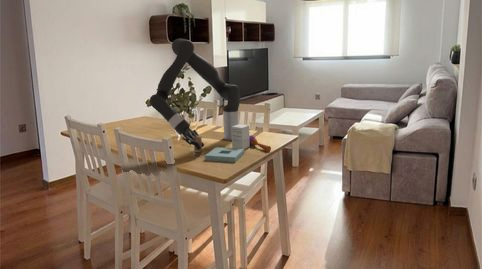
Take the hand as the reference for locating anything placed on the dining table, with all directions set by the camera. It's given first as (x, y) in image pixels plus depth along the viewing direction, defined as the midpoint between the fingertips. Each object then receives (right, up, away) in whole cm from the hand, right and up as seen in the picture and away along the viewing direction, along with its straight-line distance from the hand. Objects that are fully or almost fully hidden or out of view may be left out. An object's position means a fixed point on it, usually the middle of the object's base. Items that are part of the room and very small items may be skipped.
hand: (201, 147), depth 204 cm
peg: (-2, -4, +1) cm, 5 cm away
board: (+13, -5, -3) cm, 14 cm away
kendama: (+30, -1, +13) cm, 33 cm away
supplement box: (+21, -1, +14) cm, 25 cm away
